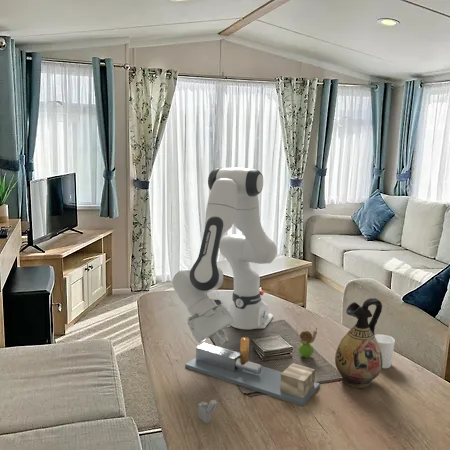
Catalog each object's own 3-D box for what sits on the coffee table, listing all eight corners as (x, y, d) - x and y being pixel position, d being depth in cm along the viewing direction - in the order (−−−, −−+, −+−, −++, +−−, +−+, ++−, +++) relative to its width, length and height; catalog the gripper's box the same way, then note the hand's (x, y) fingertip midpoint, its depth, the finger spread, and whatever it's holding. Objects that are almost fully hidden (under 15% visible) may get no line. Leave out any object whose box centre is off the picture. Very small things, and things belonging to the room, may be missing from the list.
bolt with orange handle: (204, 354, 182) (205, 325, 179) (261, 371, 169) (262, 341, 167) (199, 357, 179) (199, 328, 177) (257, 375, 167) (258, 344, 165)
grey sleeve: (203, 355, 183) (203, 342, 182) (241, 366, 175) (241, 353, 174) (196, 360, 179) (196, 347, 178) (233, 372, 171) (234, 359, 170)
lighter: (198, 417, 146) (198, 392, 145) (202, 415, 147) (203, 390, 146) (212, 428, 141) (212, 403, 139) (217, 426, 142) (217, 401, 140)
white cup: (392, 361, 184) (395, 336, 182) (392, 370, 176) (394, 344, 174) (370, 357, 186) (372, 332, 184) (369, 367, 179) (371, 341, 177)
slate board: (207, 352, 188) (207, 349, 188) (319, 386, 165) (319, 383, 164) (185, 367, 176) (185, 364, 176) (302, 406, 153) (302, 402, 153)
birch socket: (291, 379, 167) (292, 363, 166) (314, 385, 163) (314, 369, 162) (280, 390, 159) (280, 374, 158) (303, 398, 155) (304, 381, 154)
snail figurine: (315, 361, 183) (317, 330, 180) (297, 359, 184) (299, 328, 181) (315, 354, 188) (317, 325, 185) (298, 352, 189) (300, 323, 187)
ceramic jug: (348, 396, 159) (354, 308, 153) (326, 373, 174) (331, 292, 168) (394, 389, 164) (402, 303, 158) (369, 368, 178) (375, 288, 172)
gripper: (190, 314, 166) (214, 349, 163) (223, 298, 183) (245, 329, 180) (180, 324, 169) (203, 358, 166) (213, 307, 186) (234, 337, 183)
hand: (225, 342), depth 173 cm, fingers closed
